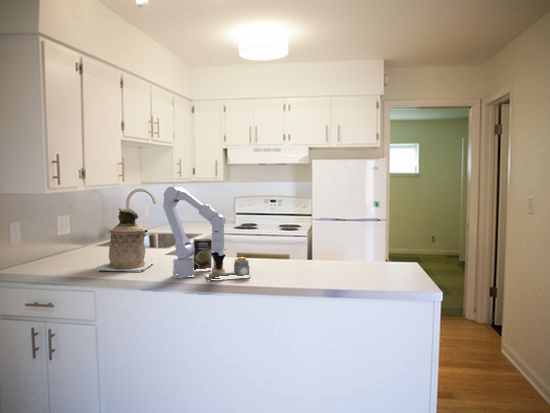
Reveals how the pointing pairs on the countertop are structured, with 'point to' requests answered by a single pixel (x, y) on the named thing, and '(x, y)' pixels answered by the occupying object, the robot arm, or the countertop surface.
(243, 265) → the blue-grey jar
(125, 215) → the cookie jar
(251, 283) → the countertop surface
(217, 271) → the carriage
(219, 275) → the rail
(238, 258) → the button
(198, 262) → the coffee box
